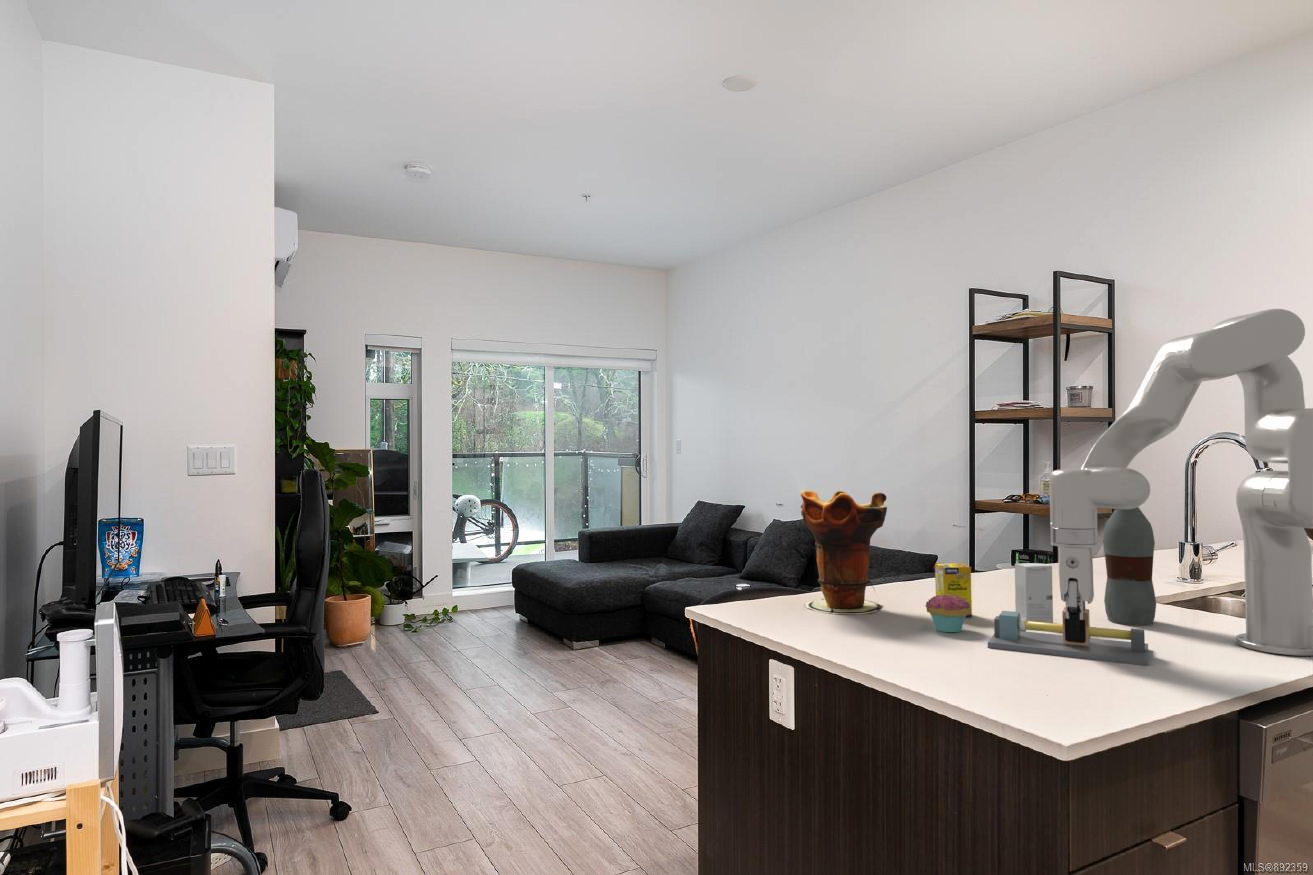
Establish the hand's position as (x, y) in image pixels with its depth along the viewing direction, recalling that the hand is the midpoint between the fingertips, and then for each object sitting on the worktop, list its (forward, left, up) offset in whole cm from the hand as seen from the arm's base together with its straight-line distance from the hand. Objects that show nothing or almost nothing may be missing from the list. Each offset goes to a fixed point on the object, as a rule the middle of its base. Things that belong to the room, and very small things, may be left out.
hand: (1076, 637), depth 142 cm
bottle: (-8, -30, -2) cm, 31 cm away
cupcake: (+23, -5, -2) cm, 24 cm away
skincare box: (+9, -20, -2) cm, 22 cm away
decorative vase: (+49, -18, -2) cm, 52 cm away
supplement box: (+25, -20, -2) cm, 32 cm away
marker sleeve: (0, 0, -1) cm, 1 cm away
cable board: (+2, 0, -2) cm, 3 cm away
